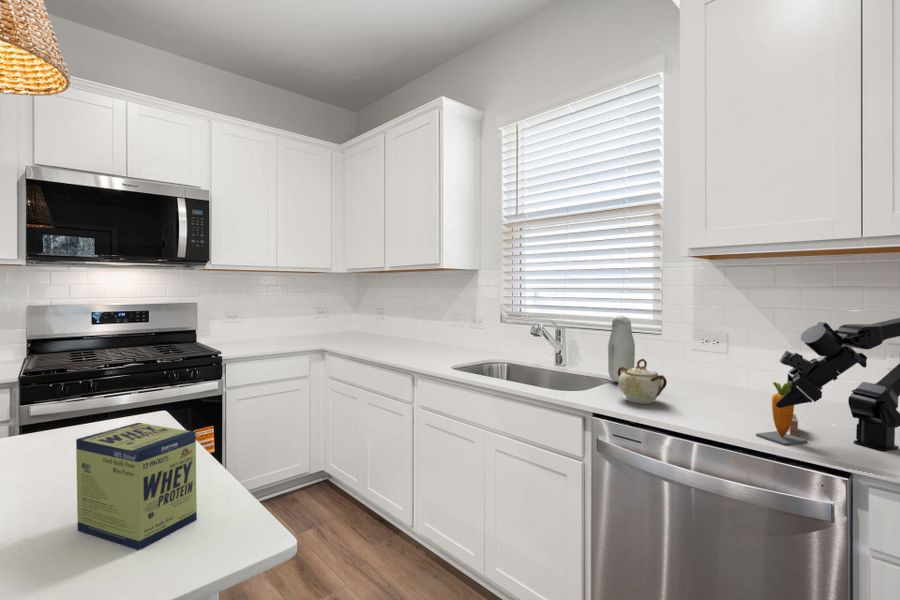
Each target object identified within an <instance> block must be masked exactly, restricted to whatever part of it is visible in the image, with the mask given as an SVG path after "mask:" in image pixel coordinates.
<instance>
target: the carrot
mask: <svg viewBox="0 0 900 600" xmlns="http://www.w3.org/2000/svg"><path fill="white" fill-rule="evenodd" d="M787 381H788V380H787ZM787 381H786V383H787V384H786V383H783V385H782V386H781V383H780V382H776V381H774V382H772V385H773V386H774V387H775V388H776V390H777V393H778V392H779V393H778V394H777V393H773V394H772V397H771V414H772V418H773V423H774V427H775V429H776V431H778V433H779V435H780V436H781V437H783V436H785V434H788V432H789V428H790V426H791V422H792V418H793V414H794V411H795V410H794V409H795V405H791V406H787V407H782V408H778V407H777V406H776V403H777V402H778V401H779V400H780V399H781V398H782V397H783V396H784V395H785V394H786V393H787V392H788V391H789V390H790V388H789V387H790V384H791V382H790V381H788V382H787Z"/></svg>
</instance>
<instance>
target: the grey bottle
mask: <svg viewBox="0 0 900 600" xmlns="http://www.w3.org/2000/svg"><path fill="white" fill-rule="evenodd" d="M632 331H633V330H632V322H631V320H630V318H629V317H628V316H625V315H620V316H615V317H614V318H613V319H612V321H611V330H610V335H609V339H608V344H607V349H608V350H607V360H608V361H607V365H608V366H607V367H608V368H607V370H608V375H609V377H610V379H611V380H612V381H613V382H614V383H617V384H619V383H618V380H619V375H618V369H619V368H620V367H624V368H627V369H632V368H635V361H636V360H635V357H636V354H635V353H636V352H635V351H636V345H635V344H636V343H635V340H634V335H633V332H632ZM622 371H623V370H621V371H620V374H621V372H622Z"/></svg>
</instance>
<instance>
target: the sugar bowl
mask: <svg viewBox="0 0 900 600" xmlns="http://www.w3.org/2000/svg"><path fill="white" fill-rule="evenodd" d="M642 362H643V364H644V365H641V366H640V363H642ZM647 363H648V362H647V360H646V359H645V358H641V359H639V360H638V361H637V362H636V367H634V368H632V369H627V368H624V367H620V368H619V369H618V375H619V380H618V383H617V384H618V387H619V389H620V391H621V392H622V394H623V395H624V396H625V397H626V399H627V401H628V402H630V403H634V404H641V405H649V404H650V405H651V404H653V403H654V402H655V401H656V399H657V398H658V397H659V396H661V393H662V392H663V391H664V389H665V388H666V386H667V383H668V382H667V378H666V377H665V376H664V375H662V374H661V375H660V374H659V373H658V372H656V371H654V370H652V369H650V368H647V367H648V366H647ZM621 370H623V371H622V372H621V374H620V371H621Z"/></svg>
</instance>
